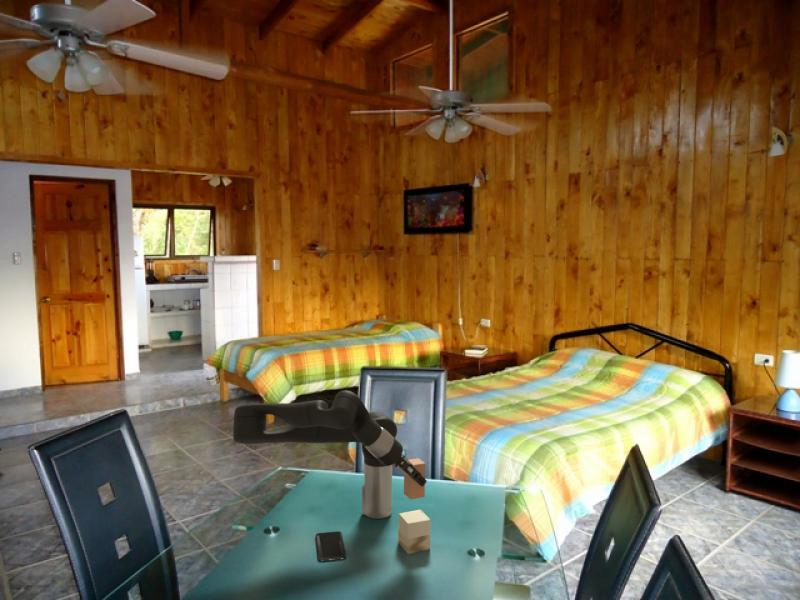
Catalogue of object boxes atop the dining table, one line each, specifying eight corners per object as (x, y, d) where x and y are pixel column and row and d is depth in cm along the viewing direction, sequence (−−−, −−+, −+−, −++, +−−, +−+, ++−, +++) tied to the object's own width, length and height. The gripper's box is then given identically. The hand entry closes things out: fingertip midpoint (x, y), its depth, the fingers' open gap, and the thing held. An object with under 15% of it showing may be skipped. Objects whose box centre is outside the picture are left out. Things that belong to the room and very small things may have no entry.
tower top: (408, 539, 164) (408, 523, 163) (398, 528, 170) (398, 513, 170) (430, 534, 166) (430, 519, 166) (420, 524, 173) (420, 509, 172)
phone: (318, 559, 159) (315, 533, 174) (318, 563, 159) (315, 536, 174) (346, 556, 161) (341, 530, 176) (346, 560, 161) (341, 534, 176)
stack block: (410, 499, 164) (411, 465, 164) (403, 493, 168) (404, 460, 168) (424, 496, 166) (425, 463, 165) (417, 491, 170) (418, 458, 169)
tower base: (408, 554, 164) (408, 539, 164) (398, 543, 170) (398, 528, 170) (430, 549, 167) (430, 534, 167) (419, 538, 173) (419, 523, 173)
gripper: (364, 448, 167) (401, 482, 173) (384, 464, 154) (423, 500, 160) (381, 428, 169) (417, 462, 175) (402, 442, 156) (440, 479, 162)
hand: (420, 480), depth 168 cm, fingers closed on stack block, 4 cm apart
